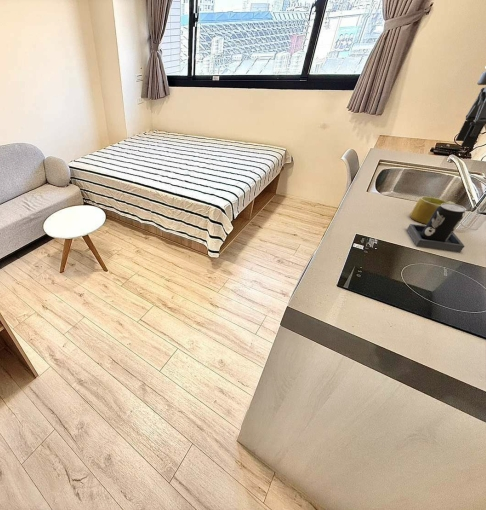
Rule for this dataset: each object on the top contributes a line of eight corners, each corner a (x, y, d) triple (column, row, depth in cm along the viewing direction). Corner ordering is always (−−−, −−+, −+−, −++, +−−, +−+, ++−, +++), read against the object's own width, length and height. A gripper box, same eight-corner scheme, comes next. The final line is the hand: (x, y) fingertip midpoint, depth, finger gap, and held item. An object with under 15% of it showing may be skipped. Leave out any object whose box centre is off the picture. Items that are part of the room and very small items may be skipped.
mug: (420, 223, 99) (435, 196, 96) (399, 218, 109) (412, 193, 106) (456, 231, 99) (472, 203, 95) (432, 225, 108) (445, 200, 105)
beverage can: (414, 235, 96) (433, 203, 89) (432, 233, 96) (452, 201, 89) (432, 245, 90) (454, 212, 83) (450, 243, 91) (474, 210, 84)
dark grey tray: (445, 236, 96) (450, 228, 94) (459, 253, 88) (464, 246, 86) (405, 230, 100) (410, 223, 98) (415, 247, 92) (420, 239, 90)
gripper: (476, 71, 94) (444, 138, 104) (492, 69, 77) (452, 149, 88) (509, 69, 89) (472, 139, 100) (533, 67, 73) (486, 151, 84)
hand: (463, 144), depth 94 cm, fingers open, 13 cm apart
